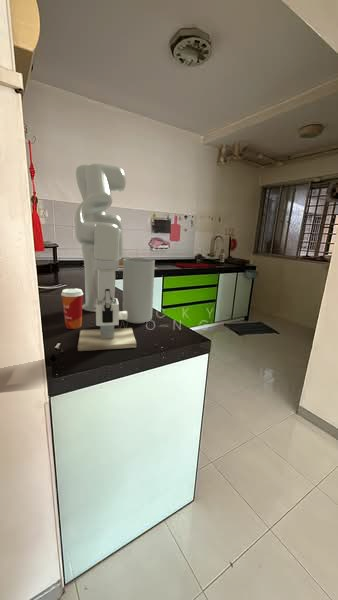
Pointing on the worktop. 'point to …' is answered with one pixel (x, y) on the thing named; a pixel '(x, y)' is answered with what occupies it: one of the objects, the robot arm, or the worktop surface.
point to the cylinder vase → (138, 289)
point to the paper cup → (72, 307)
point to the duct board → (106, 340)
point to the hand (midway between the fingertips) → (107, 317)
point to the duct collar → (116, 313)
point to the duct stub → (107, 332)
